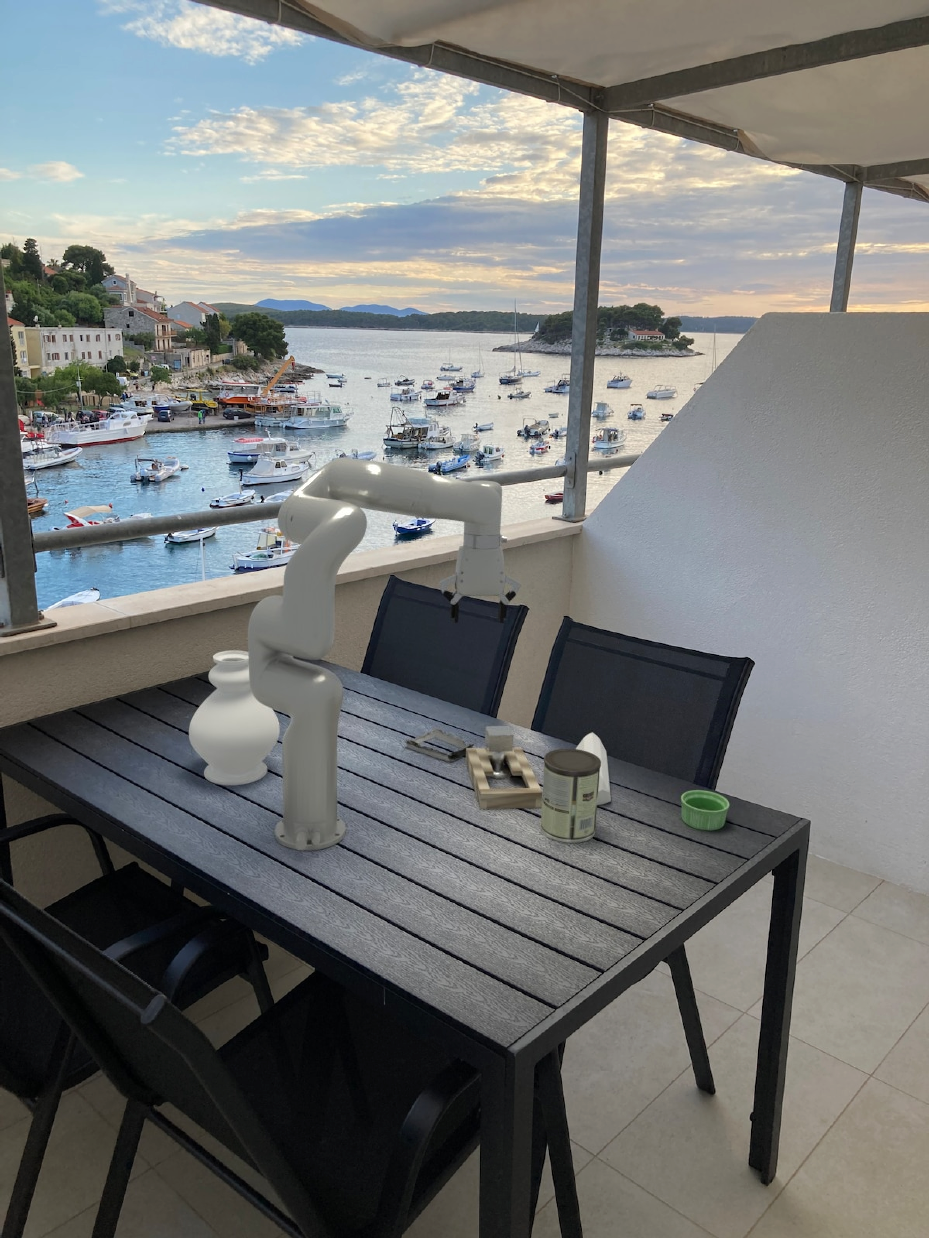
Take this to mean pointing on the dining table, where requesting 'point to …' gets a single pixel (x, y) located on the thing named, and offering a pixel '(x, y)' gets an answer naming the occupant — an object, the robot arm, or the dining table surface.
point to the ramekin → (704, 809)
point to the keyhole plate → (503, 798)
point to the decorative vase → (233, 724)
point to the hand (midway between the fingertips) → (478, 621)
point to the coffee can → (570, 795)
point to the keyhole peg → (499, 749)
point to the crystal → (596, 747)
